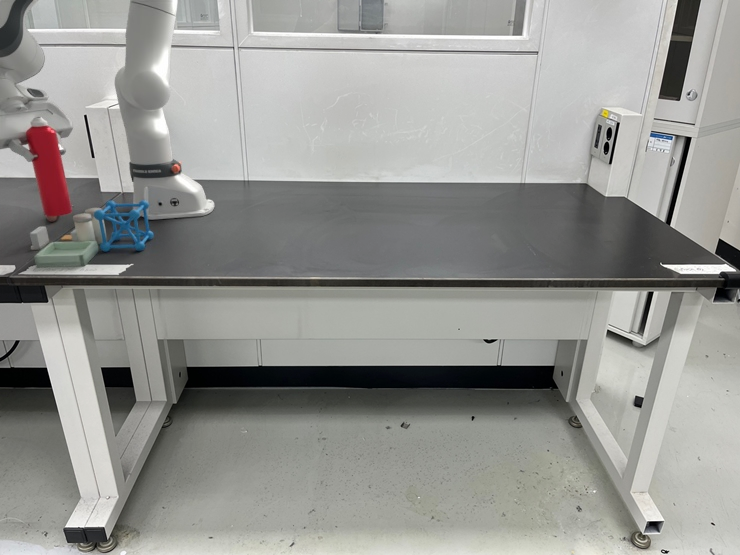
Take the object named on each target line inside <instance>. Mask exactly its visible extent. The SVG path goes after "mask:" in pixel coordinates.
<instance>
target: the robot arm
mask: <svg viewBox="0 0 740 555" xmlns="http://www.w3.org/2000/svg"><path fill="white" fill-rule="evenodd" d="M38 1H39V0H0V150H5V149H10V151H11V152H13V153H15V154H17V155H19V156H21V157H23V158H24V159H25V160H26V161H27V162H28V163H31V162H32V161H36V159H37V158H38V156H37V154H36V153H35V152H34V150H33V149H32V150H29V148H26V147H25V145H28V141H27V137H26V131H27V130H28V129H29V128H30V127H32V126H31V123H30V122H31V121H32V120H33V119H34V117H42V118H43V119H44V120H45V121H47V124H48V125H47V126H49V127H51V128H53V129H54V130H55V131H56V134H57V139H58V144H59V148H60V153H61V156H64V155H66V152H67V148H65V146H64V145H63V142H62V139H65V138H69V136H70V135H71V133H72V131H73V130H74V123H73V121H72V120H71V118H69V116H68V115H67V114H66V113H65V112H64V111H63V110H62V109H61V108H60V106H59V105H57V104H56V103H55V102H54V101H51V100H49V94H48V93H47V92H46V91H45V90H43V89H38V88H32V87H28V86H25V85H21V84H19V83H22V82H25V81H27V80H28V79H30V78H33V77H34V76H36V75H38V73H40V72H41V71H42V69H43V67H44V65H45V60H46V58H45V53H44V50H43V48H42V47H41V45H40V44H39V43H38V41H37V40H36V38H35V37H34V36H33V35H32V33H31V32H30V31H29V29H28V28H27V26H26V16H27V15H28V12H29V11H31V9H32V8H33V7H34V6H35V5H36V3H37V2H38ZM178 2H179V1H178V0H130V1H129V6H128V7H129V8H128V14H127V22H126V29H125V36H124V37H125V59H124V60H125V61H124V63H125V64H124V66H122V67H121V68H119V70H118V71H117V72H116V74H115V77H114V87H115V88H114V89H115V93H116V98H117V102H118V107H119V110H120V111H119V112H120V114H121V120H122V123H123V126H124V130H125V136H126V142H127V149H128V153H129V159H130V161H129V163H128V164H129V174H130V175H129V176H130V179H131V182H132V184H133V185H132V186H133V201H132V202H133V203H132V204H139V202H140V201H142V200H145V201H147V202H148V203H149V207H148V209H146V211H147V218H148V221H149V220H163V219H175V218H177V219H179V218H180V219H181V218H193V217H202V216H207V215H208V214H210V213H212V212H213V211H214V209H215V202H214V201H213V200H212V199H209V198H208V199H207V197H206V193H205V191H204V188H203V186H202V185H201V184H200V183H199V182H197V181H196V180H194V179H192V178H191V177H189V176H188V175H186V174H184V173H183V172H182V161H181V160H180V161H178V160H176V159H174V157H173V152H172V150H173V149H172V142H171V136H170V135H171V134H170V129H169V126H168V124H167V121H166V117H165V113H164V109H163V107H165V106H166V105H167V103H168V102H169V100H170V96H171V89H170V88H171V87H170V85H171V84H170V83H171V63H172V62H171V58H172V57H171V55H172V54H171V53H172V52H171V51H172V43H173V37H174V32H175V25H176V20H177V19H176V18H177V12H178ZM138 208H139V207H132V210H134V209H135V210H137V209H138ZM140 217H143V218H144V213H143V210H141V211H140Z"/></svg>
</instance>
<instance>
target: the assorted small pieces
mask: <svg viewBox="0 0 740 555" xmlns="http://www.w3.org/2000/svg"><path fill="white" fill-rule="evenodd" d="M97 210H103V208H101V207H92V208H91V207H89V208H86V209H85V210H84V213H77V214H75V215H73V216H72V220H73V222H74V227H75V228H74V229H73V230H72V231H71V232H70V234H65V235H63V236H62V237H61V238H60V241H51V242H50V238H49V234H48V231H47V230H48V229H47V226H38V227H37V228H35V229H34V230H32V231H31V232H30V233H29V236H30V240H31V244H32V245H30V249H31V250H32V251H35V250H36V251H38V250H39V252H37V253H36V254H35V255H34V256H33V259H34V262H35V266H36V268H53V267H55V268H56V267H57V268H58V267H62V268H63V267H86V266H87V265H88V263H89V262H91V260H92V259H93V258H94V257H95V256H96V255H97V254H98V253H99V252H100V251H99V245H101V243H103V239H102V234H101V229H100V224H99V220H97V219H96V218H95V217H94V213H95V211H97ZM102 221H103V226H104V231H105V237H106V242H108V236H107V232H106V231H107V230H106V226H105V219H103V220H102Z"/></svg>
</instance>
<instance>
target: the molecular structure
mask: <svg viewBox="0 0 740 555" xmlns="http://www.w3.org/2000/svg"><path fill="white" fill-rule="evenodd" d="M133 207H139V208H138V209H137V210H135V209H134V210H133V209H131V210H130V211H129V212H121V213H120V212H118V211H117V209H116V208H133ZM148 207H149V203H148V202H147V201H145V200H142V201H140V202H139V204H133V203H116V202H115V201H114V200H108V201H107V202H106V203H105V207H104V209H102V210H97V211H95V213H94V217H95V218H96V219H97V220H99V224H100V229H101V234H102V239H103V243H101V244H99V248H100V250H101V251H103V252H110V250H111V249H127V248H128V249H130V248H133V249H135V250H136V251H137V252H143V251H144V250H145V248H146V244H145V243H146V242H147V241H150V240H152V239H153V238H154V232H153V231H151V230H150V225H149V224H150V223H149V219H148V218H147V211H146V209H148ZM141 210H143V213H144V217H143V218H144V219H143V220H144V223H145V224H144V225H145V231H143V230H141V229H139V228H140V227H139V225H138V219H139V218H140V217H141V216H140V211H141ZM108 211H110V213H108ZM115 217H116V218H117V219H118V220H117V219H116V218H115ZM123 217H128V218H127V220H124V219H123ZM103 219H104V220H107V221H110V222H111V223H112V229H113V231H112V232H111V234H110V236H111V238H110V239H109V240H107V242H106V237H105V231H104V226H103V221H102V220H103ZM132 221H133V224H134V226H131V223H132ZM117 225H119V229H118V230H117ZM124 231H126V232H127V233H122V232H124ZM132 231H133V232H135V233H133V232H132ZM121 238H131V239H132V240H133V242H134V244H112V243H113V242H114V241H117V242H118V241H119V240H121ZM141 238H143V239H141Z"/></svg>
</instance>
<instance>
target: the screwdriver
mask: <svg viewBox="0 0 740 555" xmlns="http://www.w3.org/2000/svg"><path fill="white" fill-rule="evenodd" d="M59 218H60V216H46V219H47V221H49V222H50V223H53V222H56V221H57V220H59Z"/></svg>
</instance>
